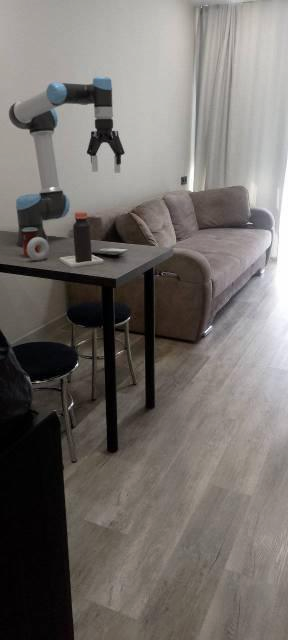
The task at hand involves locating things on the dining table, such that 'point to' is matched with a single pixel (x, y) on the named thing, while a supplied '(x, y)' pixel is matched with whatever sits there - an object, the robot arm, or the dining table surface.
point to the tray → (73, 264)
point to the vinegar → (82, 238)
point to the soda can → (29, 238)
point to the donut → (33, 244)
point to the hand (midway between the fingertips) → (106, 172)
